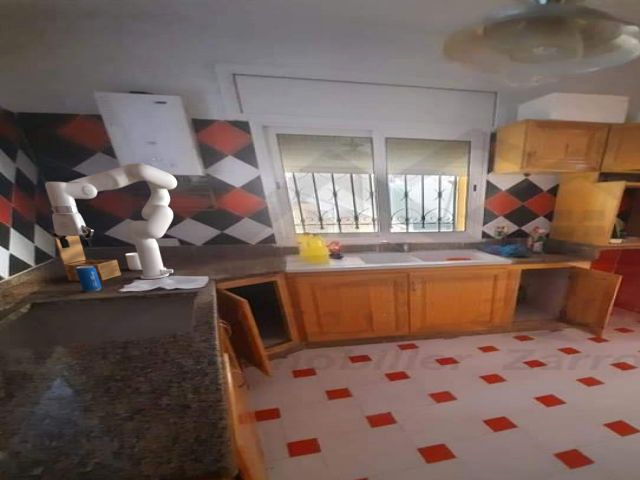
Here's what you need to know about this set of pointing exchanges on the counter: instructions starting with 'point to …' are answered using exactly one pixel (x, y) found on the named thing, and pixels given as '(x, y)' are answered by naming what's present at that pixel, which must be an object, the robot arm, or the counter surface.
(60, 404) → the counter surface
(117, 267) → the chest
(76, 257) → the lid
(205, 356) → the counter surface
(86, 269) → the beverage can
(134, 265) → the cup
